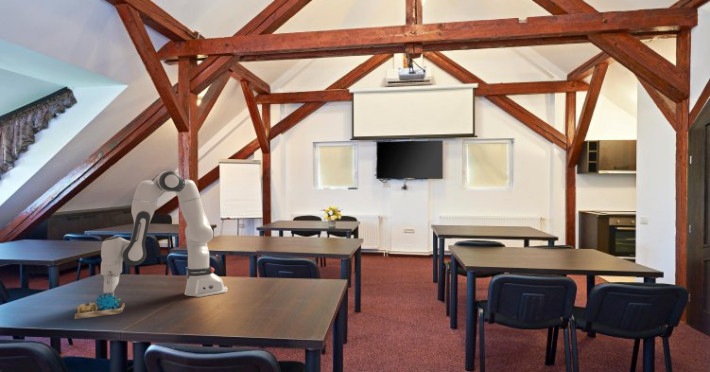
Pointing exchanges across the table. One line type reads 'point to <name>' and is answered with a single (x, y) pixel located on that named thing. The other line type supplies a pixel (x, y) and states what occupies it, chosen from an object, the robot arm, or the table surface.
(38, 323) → the table surface
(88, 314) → the gear bench
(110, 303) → the gear
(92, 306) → the gear
